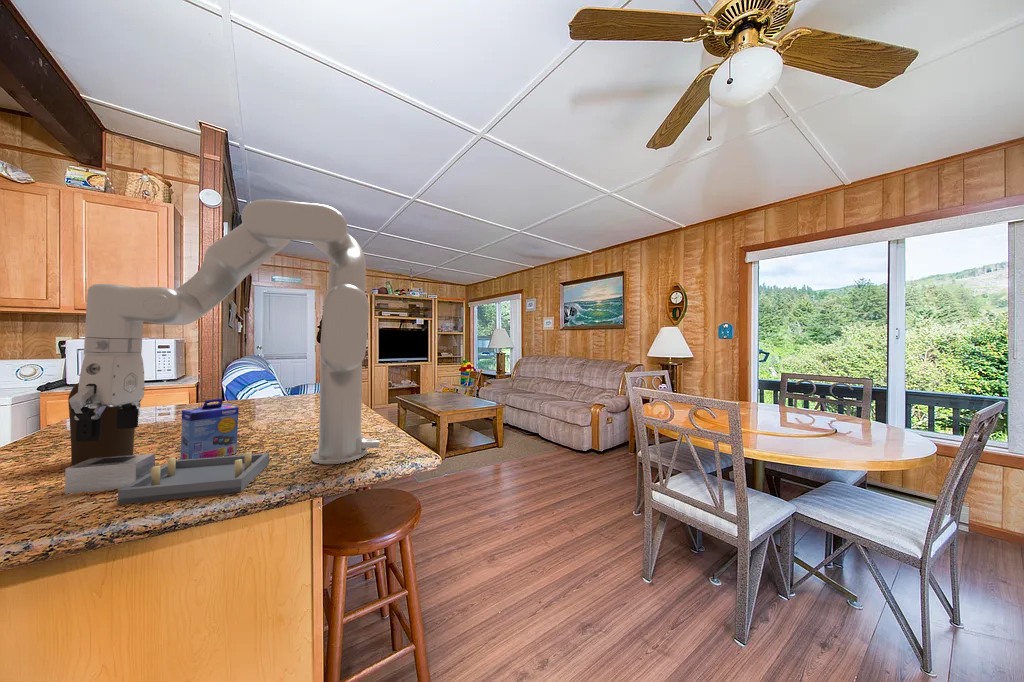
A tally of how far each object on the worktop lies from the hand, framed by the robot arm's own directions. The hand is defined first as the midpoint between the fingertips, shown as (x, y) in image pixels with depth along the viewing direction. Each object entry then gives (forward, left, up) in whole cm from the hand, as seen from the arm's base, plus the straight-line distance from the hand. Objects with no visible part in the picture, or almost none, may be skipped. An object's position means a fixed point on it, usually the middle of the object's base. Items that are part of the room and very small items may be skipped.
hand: (109, 434), depth 69 cm
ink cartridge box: (-11, -14, -10) cm, 20 cm away
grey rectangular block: (-1, 0, -10) cm, 10 cm away
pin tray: (-17, +3, -10) cm, 20 cm away
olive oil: (+11, -18, -10) cm, 24 cm away
